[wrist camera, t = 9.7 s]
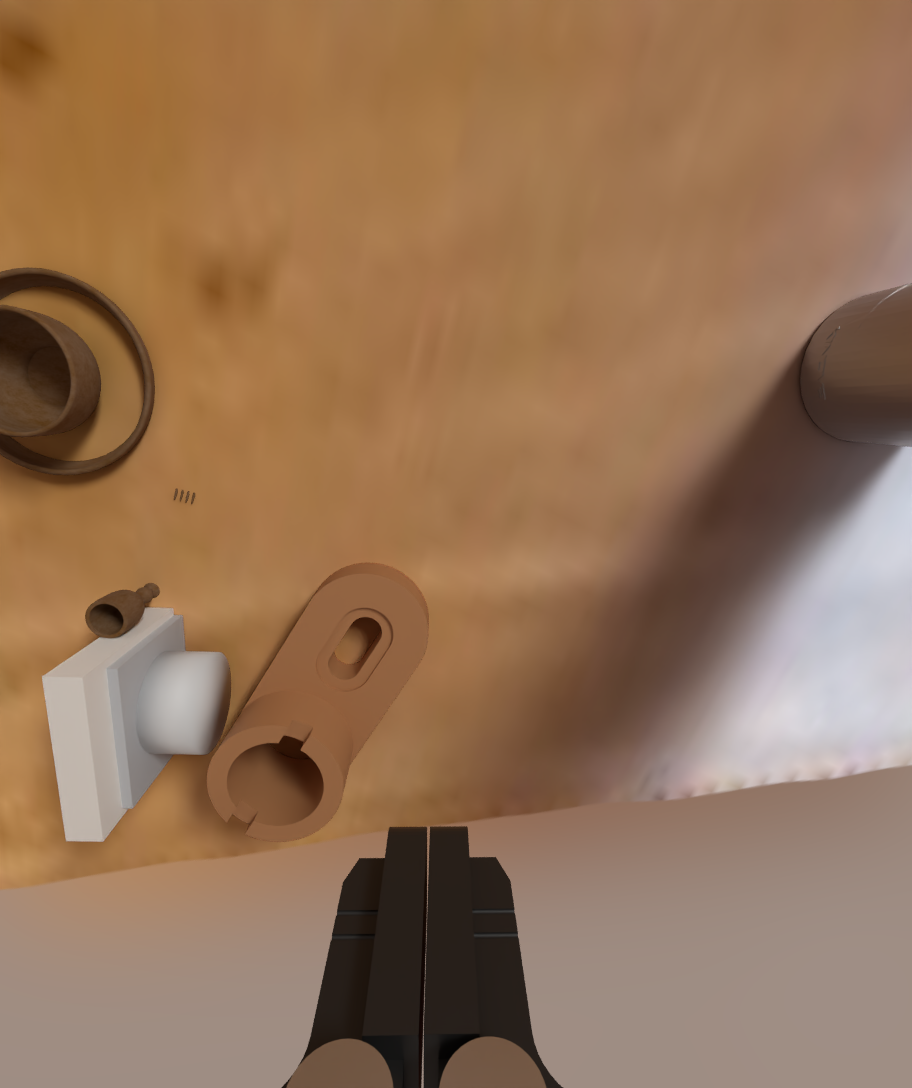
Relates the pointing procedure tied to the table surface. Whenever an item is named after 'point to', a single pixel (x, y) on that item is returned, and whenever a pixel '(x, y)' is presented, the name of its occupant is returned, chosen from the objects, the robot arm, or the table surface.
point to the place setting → (63, 406)
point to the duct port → (130, 717)
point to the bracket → (319, 705)
